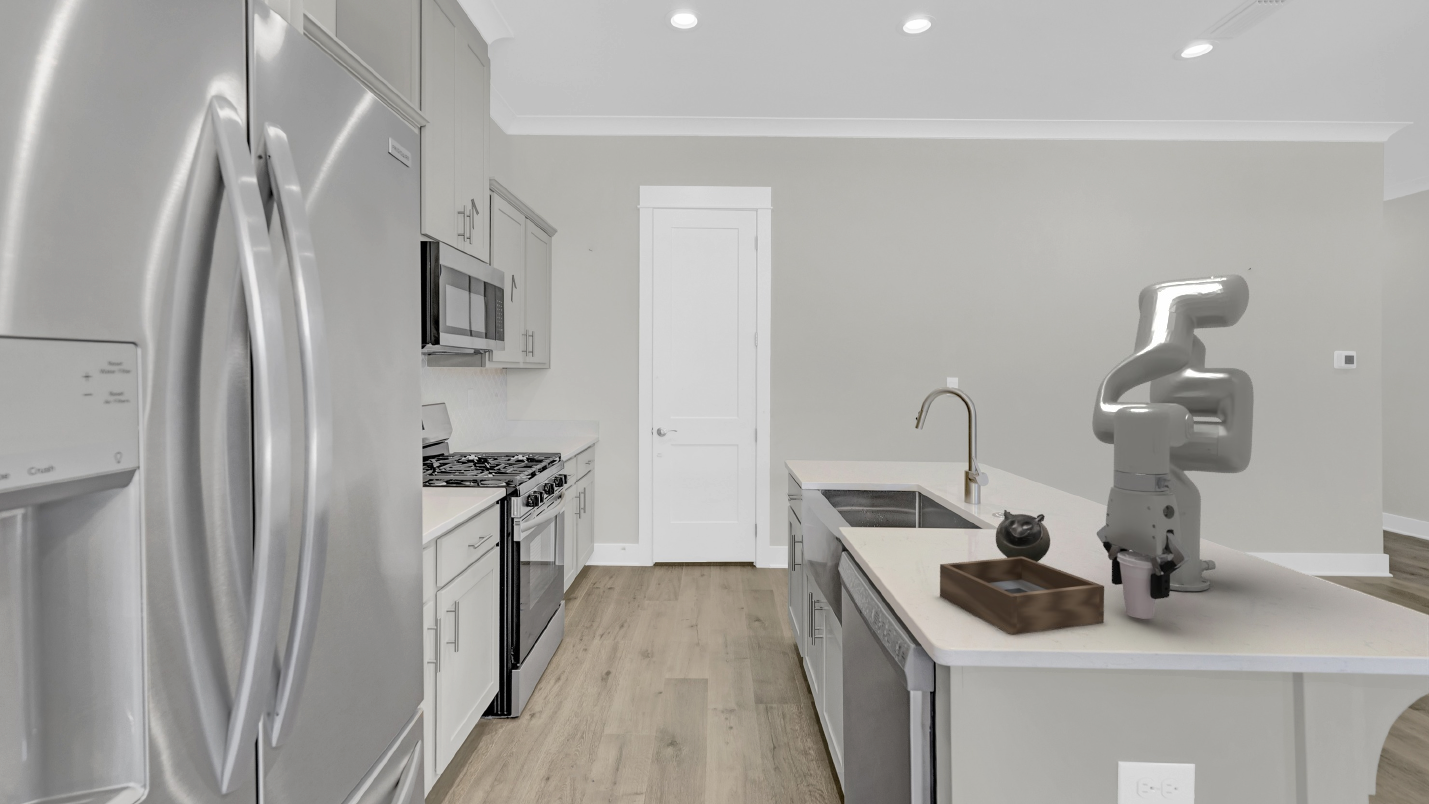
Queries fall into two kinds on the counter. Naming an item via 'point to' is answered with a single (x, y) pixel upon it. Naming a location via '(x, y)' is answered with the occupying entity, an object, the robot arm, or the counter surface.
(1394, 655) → the counter surface
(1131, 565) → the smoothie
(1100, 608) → the wooden box
